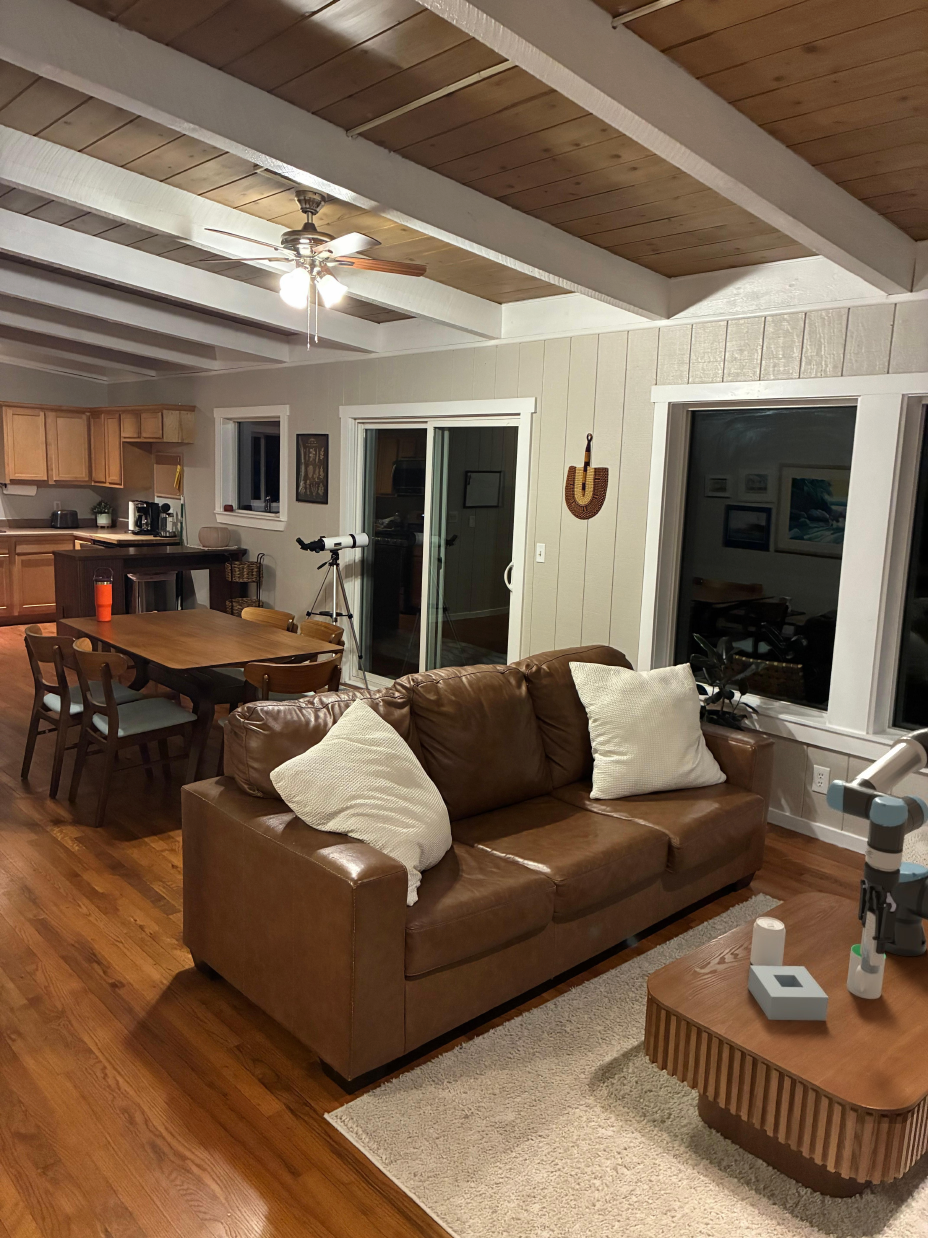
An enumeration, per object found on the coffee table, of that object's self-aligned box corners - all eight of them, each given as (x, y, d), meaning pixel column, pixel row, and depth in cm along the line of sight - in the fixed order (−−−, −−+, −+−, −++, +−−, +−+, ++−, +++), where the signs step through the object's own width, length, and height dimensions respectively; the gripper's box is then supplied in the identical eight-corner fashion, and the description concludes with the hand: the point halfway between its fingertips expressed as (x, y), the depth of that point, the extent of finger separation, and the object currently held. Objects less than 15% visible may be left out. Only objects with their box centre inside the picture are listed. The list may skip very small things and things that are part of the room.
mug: (874, 1010, 224) (879, 970, 222) (840, 998, 228) (844, 959, 227) (883, 989, 234) (888, 951, 232) (850, 978, 238) (854, 941, 237)
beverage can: (777, 959, 246) (782, 917, 245) (785, 974, 238) (789, 932, 237) (747, 956, 247) (751, 914, 245) (753, 971, 239) (757, 929, 237)
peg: (873, 965, 215) (880, 909, 213) (882, 974, 211) (889, 918, 209) (857, 965, 214) (864, 909, 212) (865, 974, 211) (872, 917, 208)
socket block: (801, 988, 232) (803, 966, 231) (825, 1020, 218) (828, 997, 218) (747, 987, 231) (750, 965, 230) (768, 1020, 218) (771, 996, 217)
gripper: (849, 849, 217) (838, 940, 220) (885, 881, 200) (873, 979, 204) (879, 850, 217) (868, 941, 221) (918, 881, 200) (906, 979, 204)
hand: (871, 959), depth 212 cm, fingers closed on peg, 4 cm apart
